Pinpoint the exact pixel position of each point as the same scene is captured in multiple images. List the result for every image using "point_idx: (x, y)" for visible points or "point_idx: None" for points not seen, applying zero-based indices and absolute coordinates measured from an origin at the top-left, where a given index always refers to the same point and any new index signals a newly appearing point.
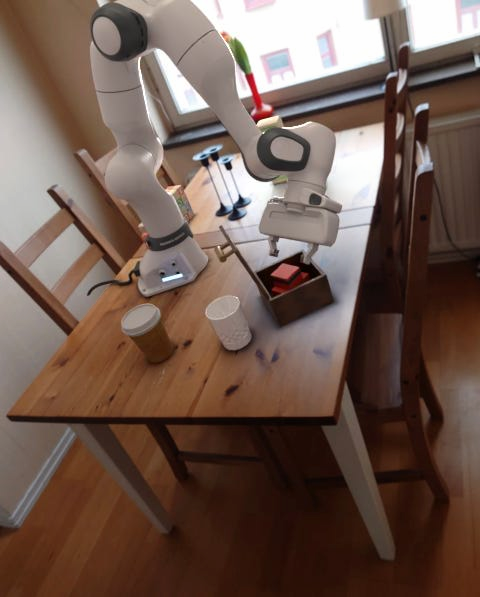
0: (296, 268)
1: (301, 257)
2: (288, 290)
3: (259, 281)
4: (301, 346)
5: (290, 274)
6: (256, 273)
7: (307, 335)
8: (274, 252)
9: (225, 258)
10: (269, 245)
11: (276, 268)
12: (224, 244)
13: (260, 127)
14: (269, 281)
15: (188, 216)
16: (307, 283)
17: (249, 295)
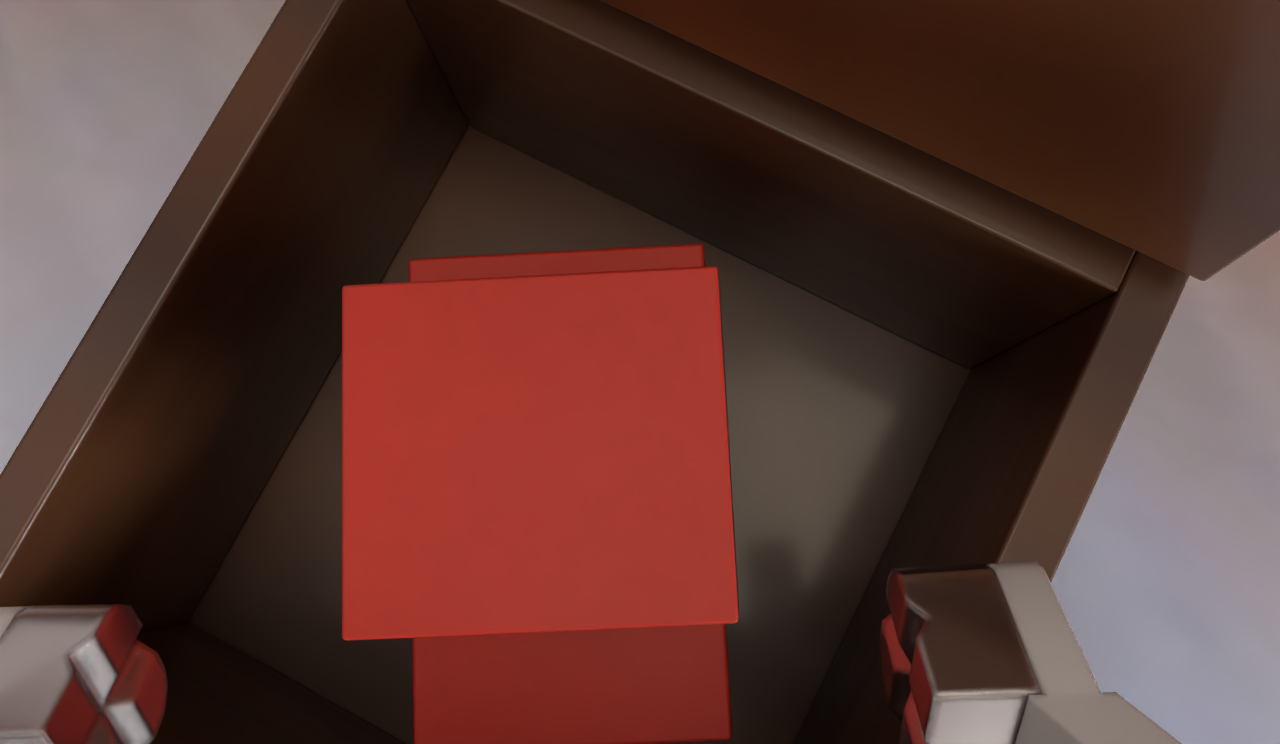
0: (364, 585)
1: (54, 672)
2: (233, 162)
3: (792, 77)
4: (112, 12)
5: (362, 409)
6: (1106, 306)
7: (142, 138)
8: (917, 644)
9: None
10: (1164, 736)
11: None
12: None
13: None
14: (965, 462)
15: None
16: (46, 404)
17: (1184, 330)
